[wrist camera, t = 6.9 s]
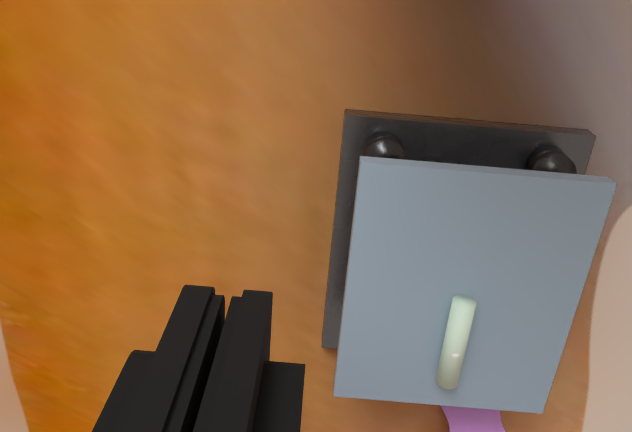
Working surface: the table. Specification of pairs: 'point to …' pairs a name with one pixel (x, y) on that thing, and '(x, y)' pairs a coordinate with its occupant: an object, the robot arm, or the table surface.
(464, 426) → the toy chair
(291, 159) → the table surface
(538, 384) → the plate
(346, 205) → the leveling stand
